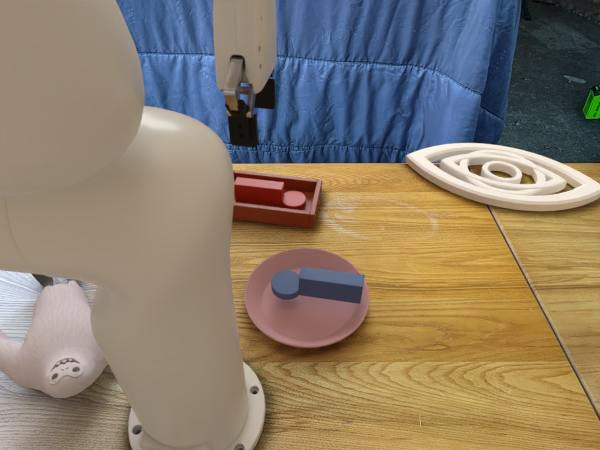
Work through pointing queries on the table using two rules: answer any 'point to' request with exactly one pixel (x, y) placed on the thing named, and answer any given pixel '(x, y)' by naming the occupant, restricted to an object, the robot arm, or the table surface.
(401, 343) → the table surface
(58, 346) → the yeti figurine
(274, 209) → the tray
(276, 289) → the blue spoon
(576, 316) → the table surface
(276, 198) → the red spoon
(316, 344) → the plate
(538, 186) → the decorative sculpture
